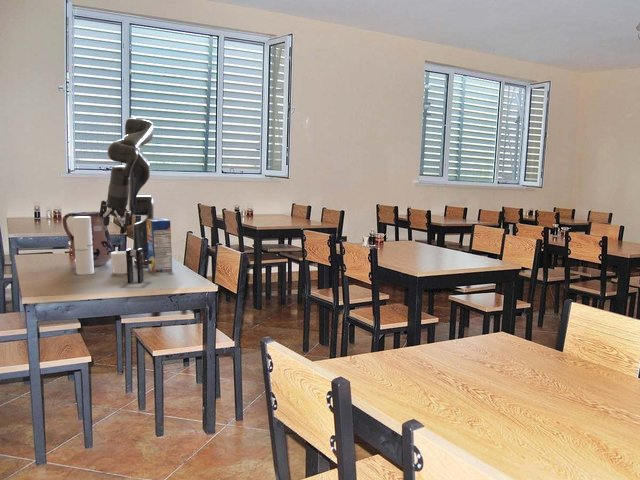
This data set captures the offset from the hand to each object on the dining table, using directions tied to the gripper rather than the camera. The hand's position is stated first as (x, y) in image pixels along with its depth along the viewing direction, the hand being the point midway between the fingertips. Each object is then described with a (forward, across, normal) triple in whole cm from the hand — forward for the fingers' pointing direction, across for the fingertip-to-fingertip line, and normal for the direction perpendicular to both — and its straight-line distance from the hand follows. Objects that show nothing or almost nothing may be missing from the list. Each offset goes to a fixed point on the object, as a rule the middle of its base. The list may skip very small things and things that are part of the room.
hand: (114, 229), depth 262 cm
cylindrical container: (+33, +21, -8) cm, 40 cm away
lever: (+11, -10, -4) cm, 16 cm away
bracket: (+19, -15, +1) cm, 24 cm away
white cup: (+28, +4, -12) cm, 31 cm away
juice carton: (+26, -6, -24) cm, 36 cm away
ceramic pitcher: (+40, +34, -24) cm, 58 cm away
